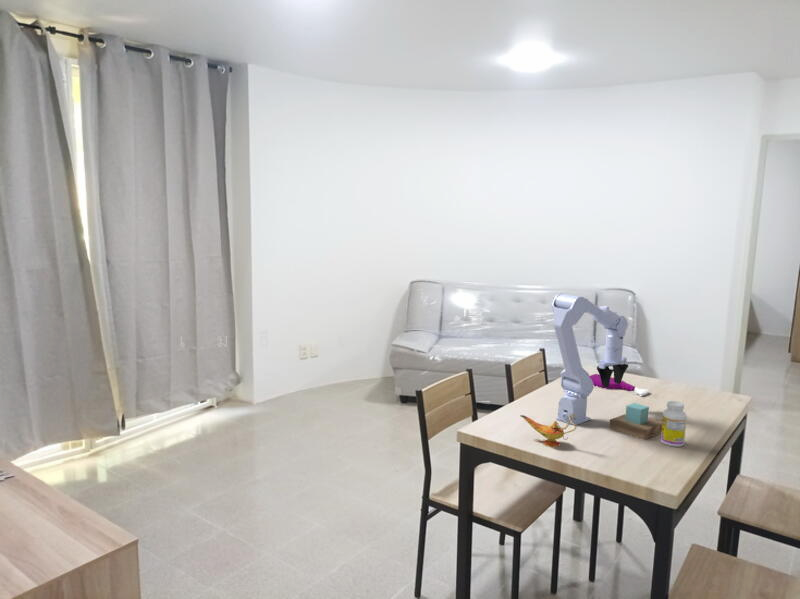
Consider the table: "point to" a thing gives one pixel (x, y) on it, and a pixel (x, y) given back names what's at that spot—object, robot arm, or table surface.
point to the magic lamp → (549, 431)
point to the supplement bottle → (674, 424)
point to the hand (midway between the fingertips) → (611, 384)
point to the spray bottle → (618, 385)
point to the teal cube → (637, 413)
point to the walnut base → (636, 427)
